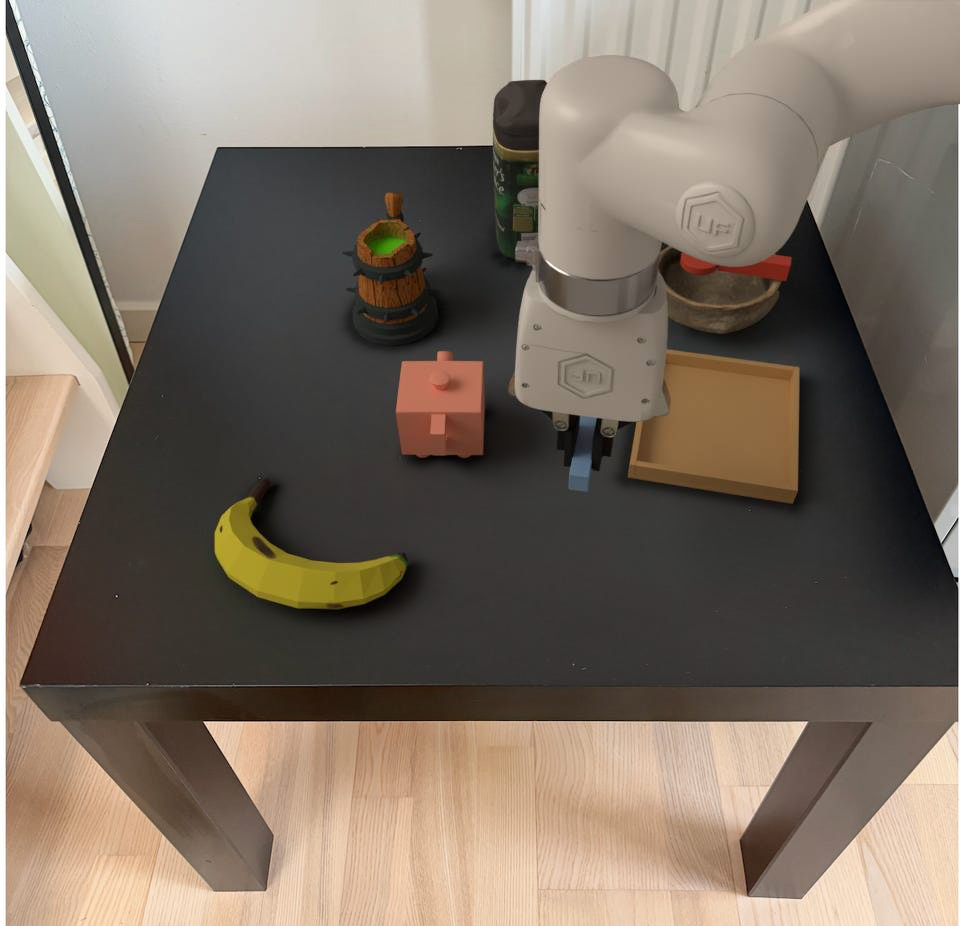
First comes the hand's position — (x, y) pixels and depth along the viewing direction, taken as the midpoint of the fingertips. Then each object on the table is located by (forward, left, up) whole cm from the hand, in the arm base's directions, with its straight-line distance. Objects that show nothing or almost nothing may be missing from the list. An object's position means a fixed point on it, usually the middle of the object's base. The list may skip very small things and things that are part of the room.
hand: (584, 454), depth 71 cm
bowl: (-9, -36, -13) cm, 39 cm away
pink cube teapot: (+15, -11, -13) cm, 23 cm away
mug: (+25, -28, -13) cm, 40 cm away
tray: (-11, -17, -13) cm, 24 cm away
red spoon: (-11, -34, -6) cm, 36 cm away
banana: (+23, +5, -13) cm, 27 cm away
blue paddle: (0, -2, -1) cm, 2 cm away
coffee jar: (+13, -43, -13) cm, 47 cm away
